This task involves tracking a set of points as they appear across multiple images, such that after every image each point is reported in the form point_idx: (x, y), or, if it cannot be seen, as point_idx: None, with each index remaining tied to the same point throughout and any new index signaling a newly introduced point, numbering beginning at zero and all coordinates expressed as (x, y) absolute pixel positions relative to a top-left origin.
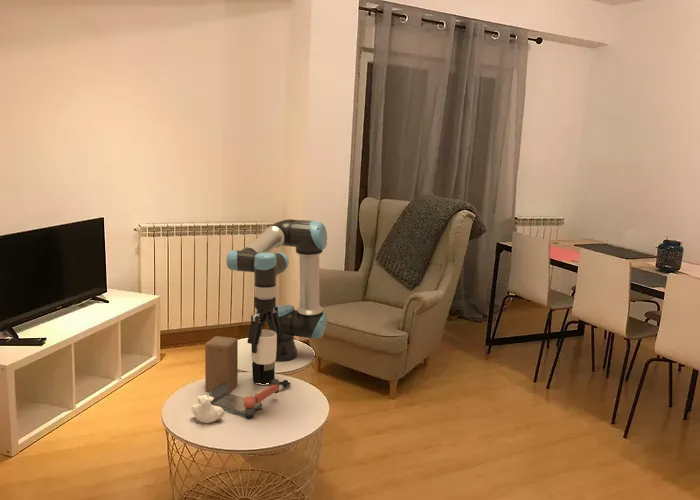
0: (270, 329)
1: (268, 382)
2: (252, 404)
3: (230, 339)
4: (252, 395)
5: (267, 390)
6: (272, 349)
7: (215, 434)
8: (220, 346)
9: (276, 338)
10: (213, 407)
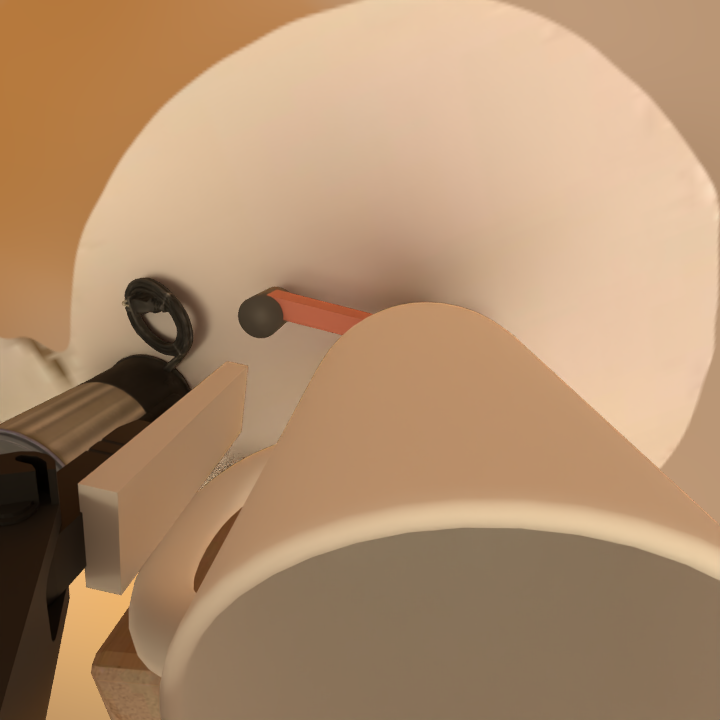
0: (50, 676)
1: (168, 372)
2: None
3: (132, 694)
4: None
5: (357, 321)
6: (535, 363)
7: (616, 405)
8: None
9: (140, 440)
10: None
